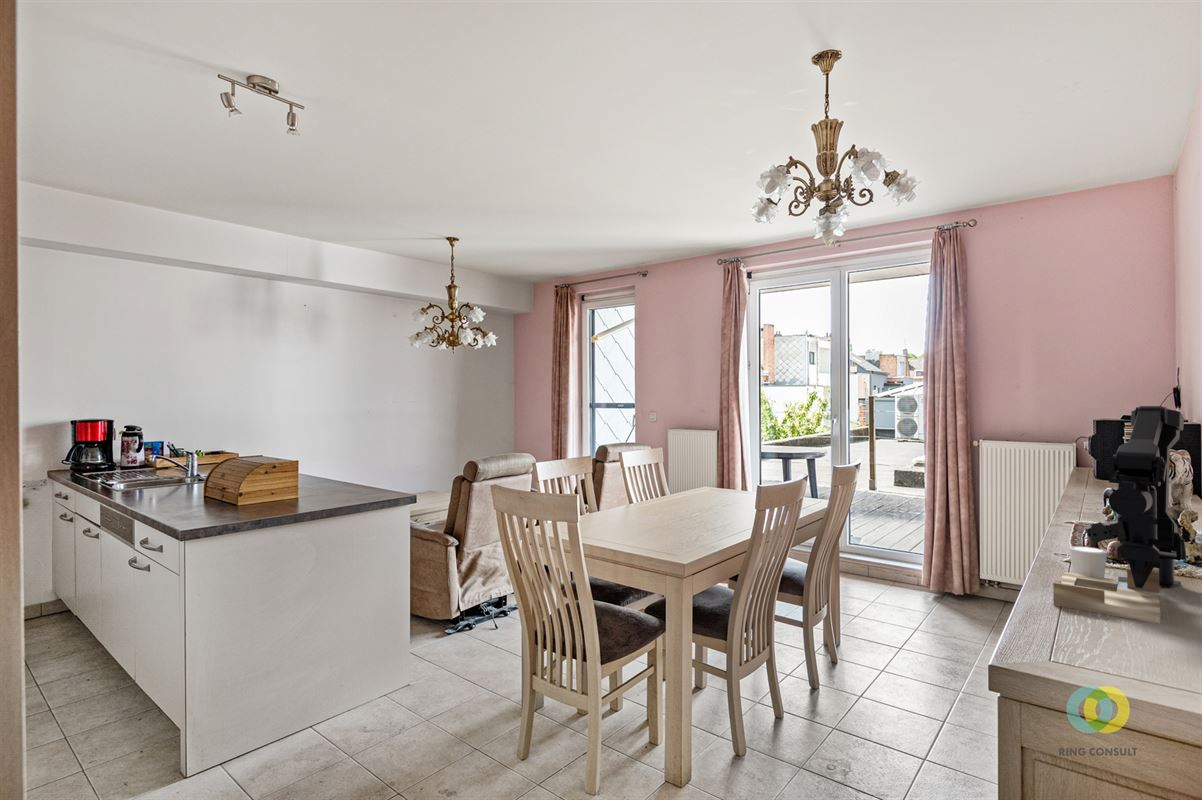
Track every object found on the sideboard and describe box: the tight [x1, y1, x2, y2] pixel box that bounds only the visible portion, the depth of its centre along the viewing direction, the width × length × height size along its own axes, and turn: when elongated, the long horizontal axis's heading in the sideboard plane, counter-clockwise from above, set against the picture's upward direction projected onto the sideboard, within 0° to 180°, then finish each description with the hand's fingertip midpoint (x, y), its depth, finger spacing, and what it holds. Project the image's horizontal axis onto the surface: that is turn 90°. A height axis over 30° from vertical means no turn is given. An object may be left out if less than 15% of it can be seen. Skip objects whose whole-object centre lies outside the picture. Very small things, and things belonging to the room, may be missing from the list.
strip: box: [1117, 575, 1160, 595], centre depth 129 cm, size 8×6×3 cm
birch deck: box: [1052, 571, 1161, 625], centre depth 127 cm, size 22×16×4 cm
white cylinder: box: [1069, 545, 1108, 578], centre depth 141 cm, size 7×7×7 cm
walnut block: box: [1126, 563, 1160, 594], centre depth 129 cm, size 5×5×4 cm
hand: (1138, 587), depth 124 cm, fingers closed
